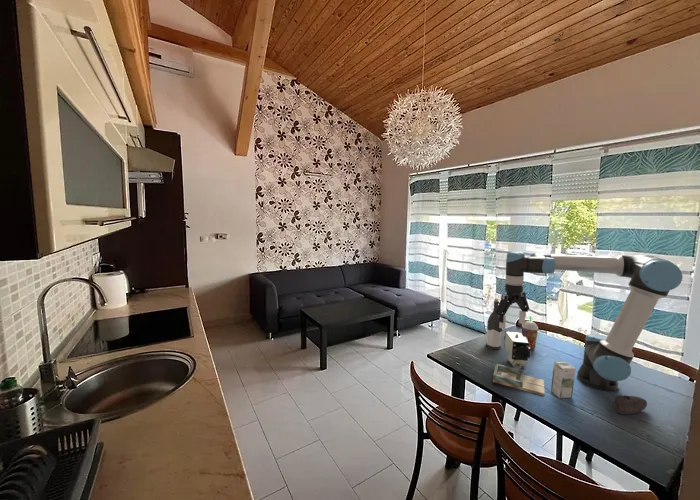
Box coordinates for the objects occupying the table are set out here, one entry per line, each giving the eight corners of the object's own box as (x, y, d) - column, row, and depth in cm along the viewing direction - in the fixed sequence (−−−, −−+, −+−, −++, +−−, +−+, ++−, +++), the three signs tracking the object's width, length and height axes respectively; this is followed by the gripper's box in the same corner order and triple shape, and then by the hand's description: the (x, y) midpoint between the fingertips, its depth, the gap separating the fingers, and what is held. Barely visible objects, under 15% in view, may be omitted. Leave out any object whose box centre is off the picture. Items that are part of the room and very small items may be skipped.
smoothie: (516, 346, 181) (519, 314, 178) (527, 344, 183) (530, 313, 180) (528, 352, 173) (531, 319, 170) (539, 350, 175) (542, 318, 173)
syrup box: (562, 390, 137) (565, 361, 135) (572, 398, 131) (575, 367, 129) (550, 390, 137) (553, 361, 135) (560, 399, 131) (563, 368, 129)
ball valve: (531, 375, 149) (534, 341, 147) (512, 373, 151) (515, 340, 149) (518, 358, 167) (521, 327, 164) (502, 356, 168) (504, 326, 166)
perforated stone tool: (638, 406, 126) (641, 391, 125) (652, 415, 121) (655, 399, 120) (606, 409, 124) (608, 393, 123) (619, 417, 119) (621, 401, 118)
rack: (543, 382, 143) (544, 375, 143) (544, 396, 133) (545, 388, 132) (495, 370, 154) (496, 363, 154) (492, 381, 144) (493, 374, 143)
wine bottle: (501, 345, 182) (504, 298, 178) (499, 350, 175) (503, 301, 171) (487, 342, 186) (490, 296, 182) (485, 347, 180) (488, 299, 175)
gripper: (524, 279, 151) (522, 319, 154) (488, 285, 142) (487, 327, 144) (539, 282, 145) (536, 324, 147) (502, 288, 135) (500, 333, 138)
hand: (512, 326), depth 146 cm, fingers open, 13 cm apart
